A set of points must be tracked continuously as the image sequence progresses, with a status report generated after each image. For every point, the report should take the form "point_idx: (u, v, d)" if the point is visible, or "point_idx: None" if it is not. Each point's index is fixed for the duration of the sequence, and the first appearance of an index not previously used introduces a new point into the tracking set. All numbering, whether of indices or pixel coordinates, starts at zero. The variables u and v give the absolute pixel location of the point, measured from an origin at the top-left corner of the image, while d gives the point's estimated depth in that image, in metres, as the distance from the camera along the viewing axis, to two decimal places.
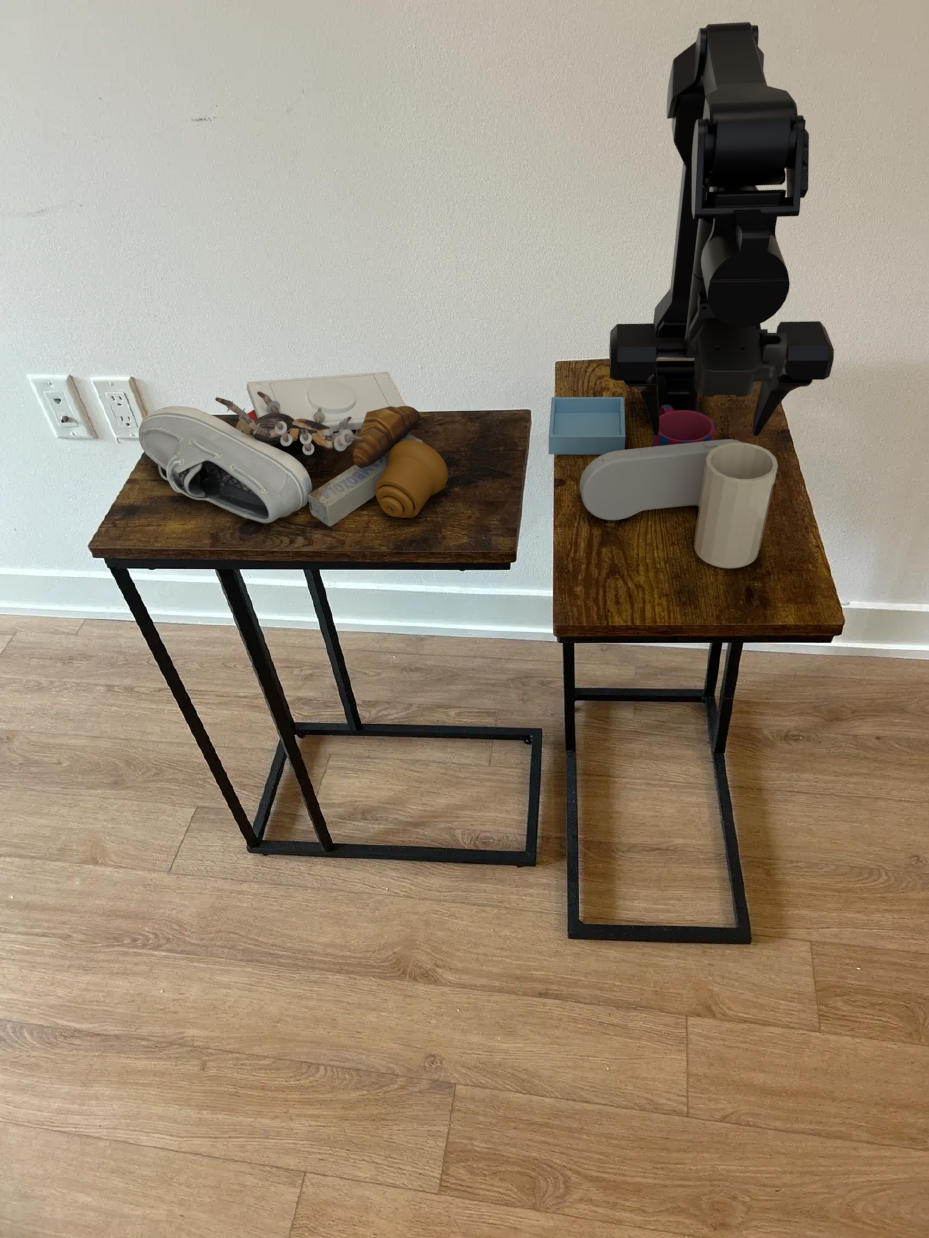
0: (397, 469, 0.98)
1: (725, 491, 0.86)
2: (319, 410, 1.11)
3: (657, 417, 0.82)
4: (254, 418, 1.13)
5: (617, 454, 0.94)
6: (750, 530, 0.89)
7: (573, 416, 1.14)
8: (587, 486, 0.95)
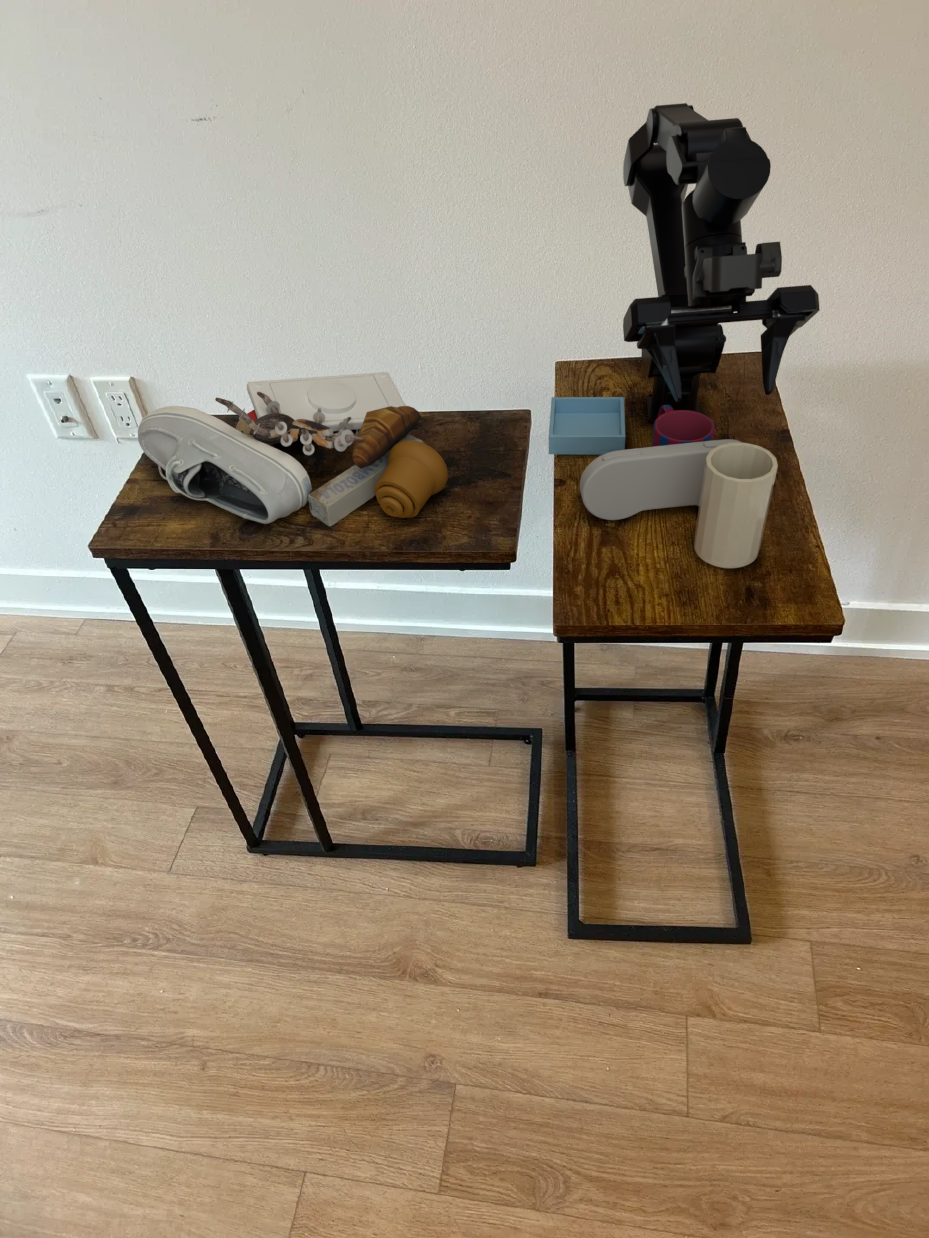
0: (397, 469, 0.98)
1: (725, 491, 0.86)
2: (319, 410, 1.10)
3: (678, 375, 0.90)
4: (254, 418, 1.13)
5: (617, 454, 0.94)
6: (750, 530, 0.89)
7: (573, 416, 1.14)
8: (587, 486, 0.95)
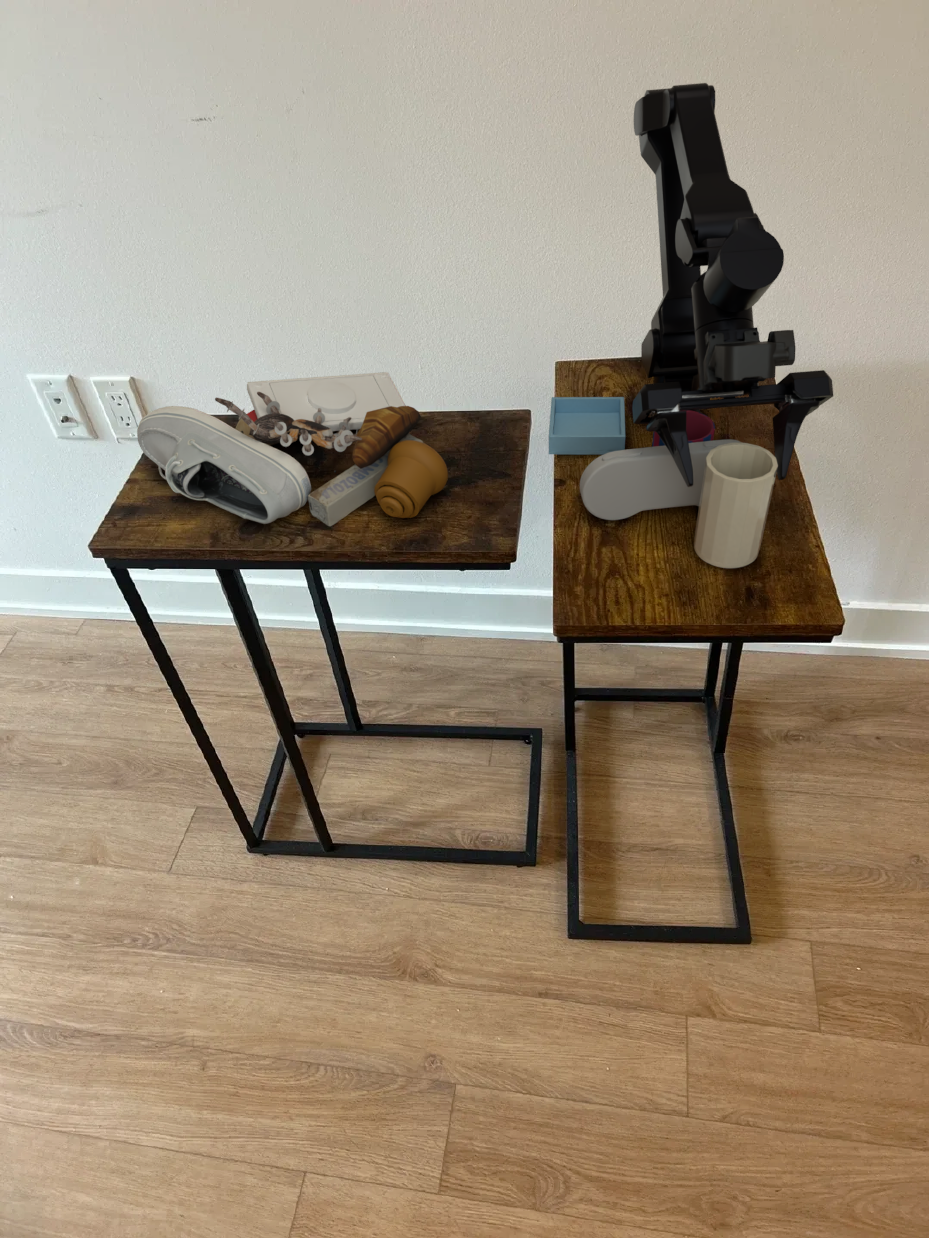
0: (397, 469, 0.98)
1: (725, 491, 0.86)
2: (319, 411, 1.10)
3: (689, 461, 0.88)
4: (254, 417, 1.13)
5: (617, 454, 0.94)
6: (750, 530, 0.89)
7: (573, 416, 1.14)
8: (587, 486, 0.95)
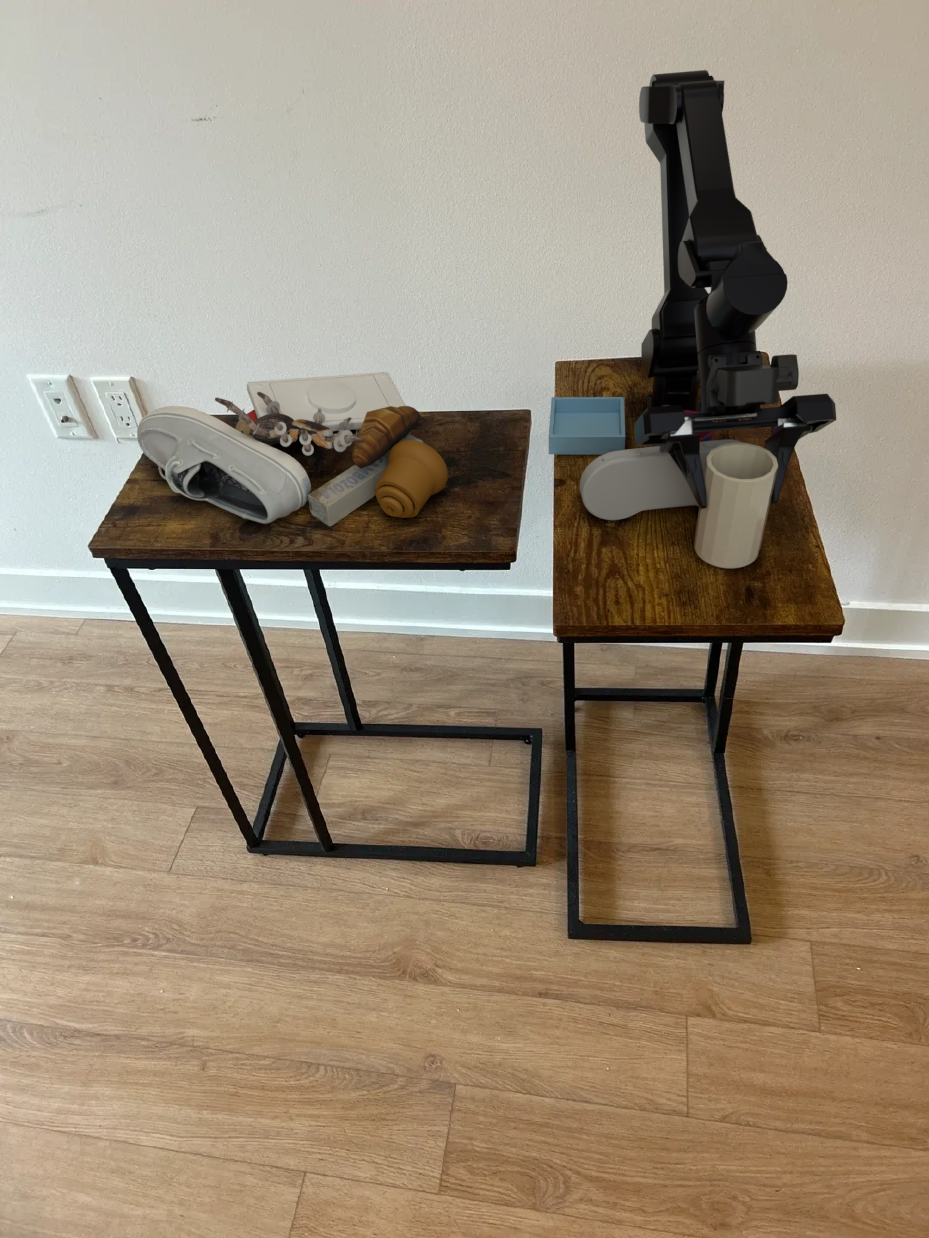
0: (397, 469, 0.98)
1: (725, 491, 0.86)
2: (319, 411, 1.10)
3: (703, 483, 0.88)
4: (254, 417, 1.13)
5: (617, 454, 0.94)
6: (750, 530, 0.88)
7: (573, 416, 1.14)
8: (587, 486, 0.95)
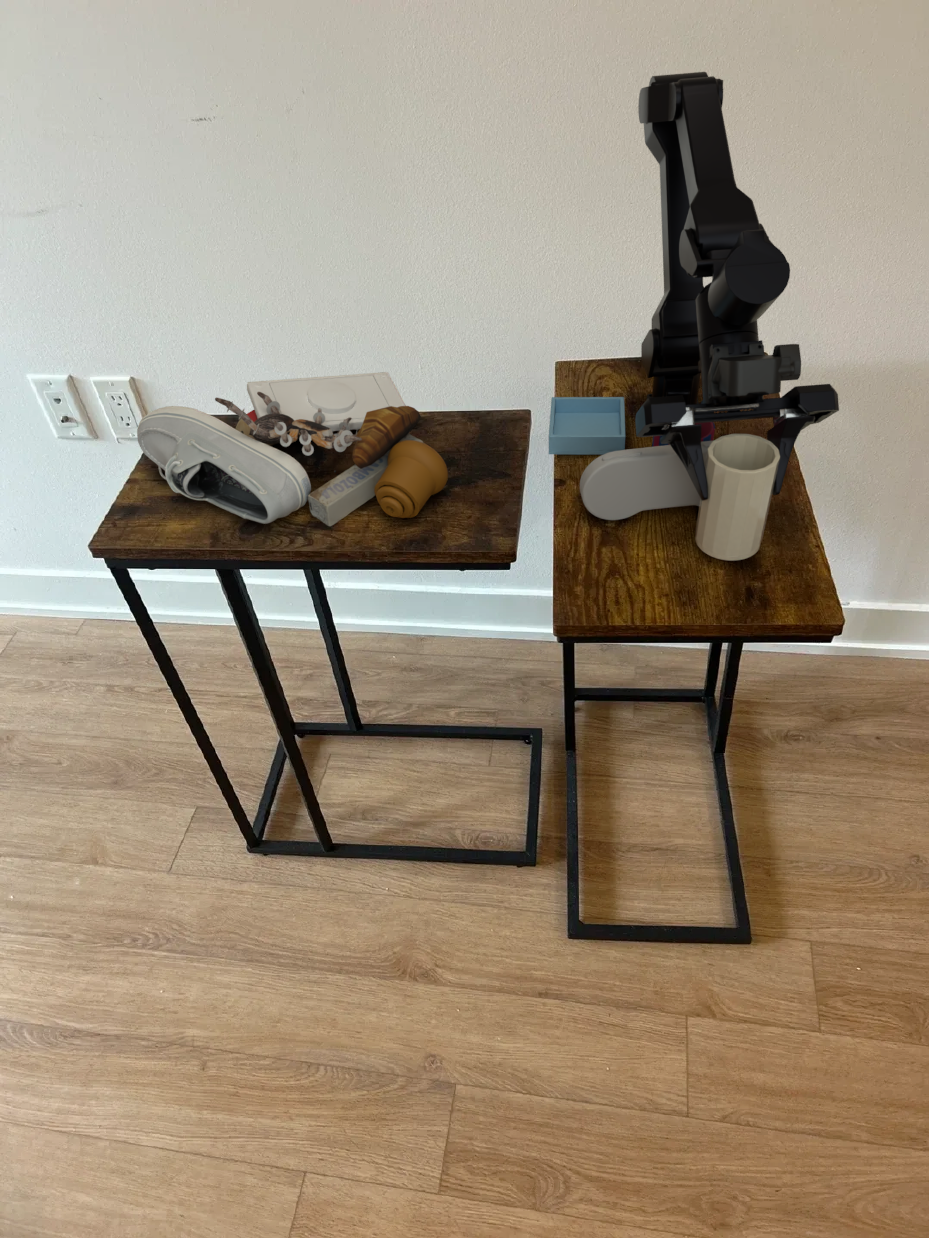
0: (397, 469, 0.98)
1: (727, 482, 0.85)
2: (319, 411, 1.10)
3: (704, 474, 0.87)
4: (254, 417, 1.13)
5: (617, 454, 0.94)
6: (752, 522, 0.88)
7: (573, 416, 1.14)
8: (587, 486, 0.95)
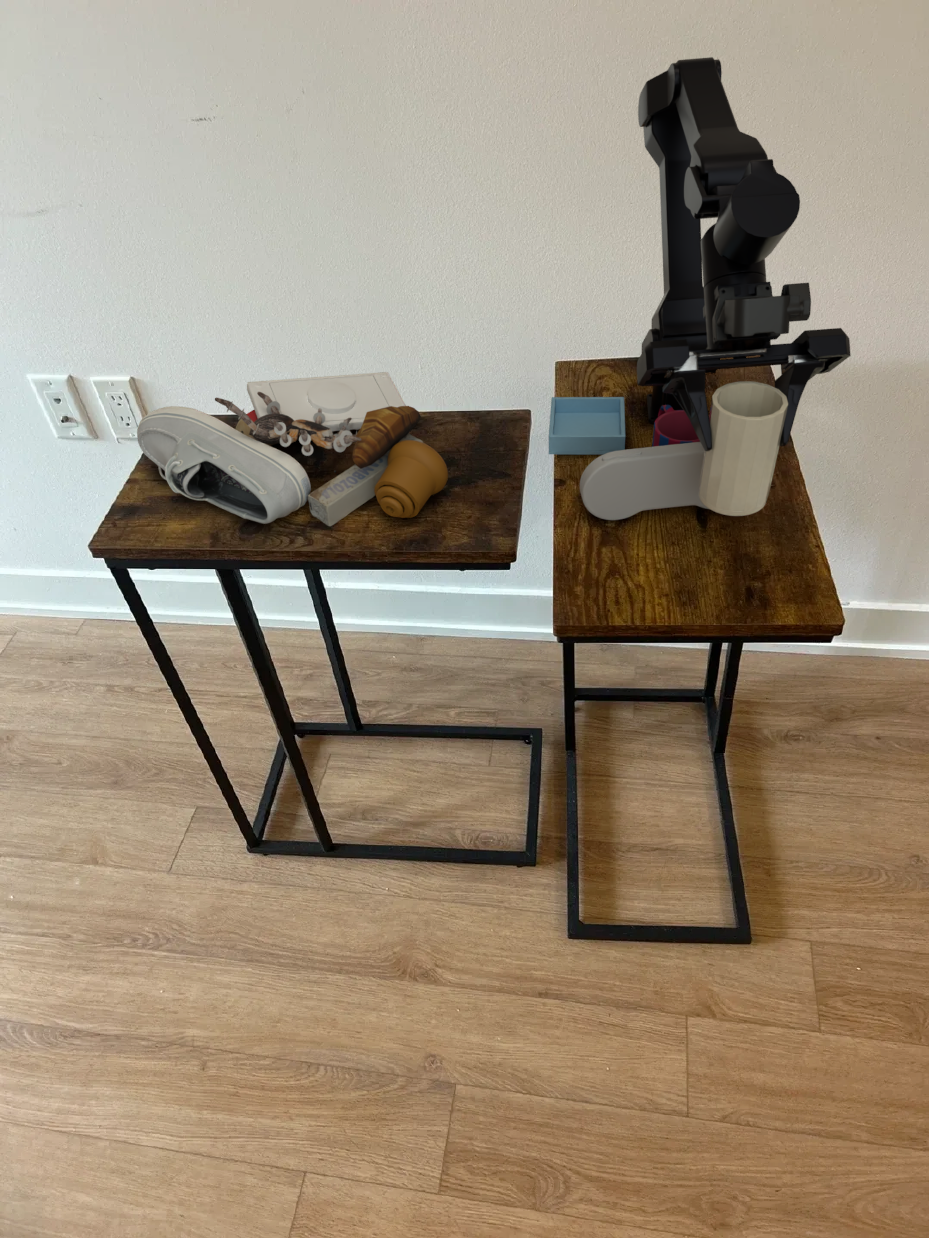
0: (397, 469, 0.98)
1: (732, 430, 0.81)
2: (319, 411, 1.10)
3: (708, 423, 0.83)
4: (254, 417, 1.13)
5: (617, 454, 0.94)
6: (758, 474, 0.84)
7: (573, 416, 1.14)
8: (587, 486, 0.95)
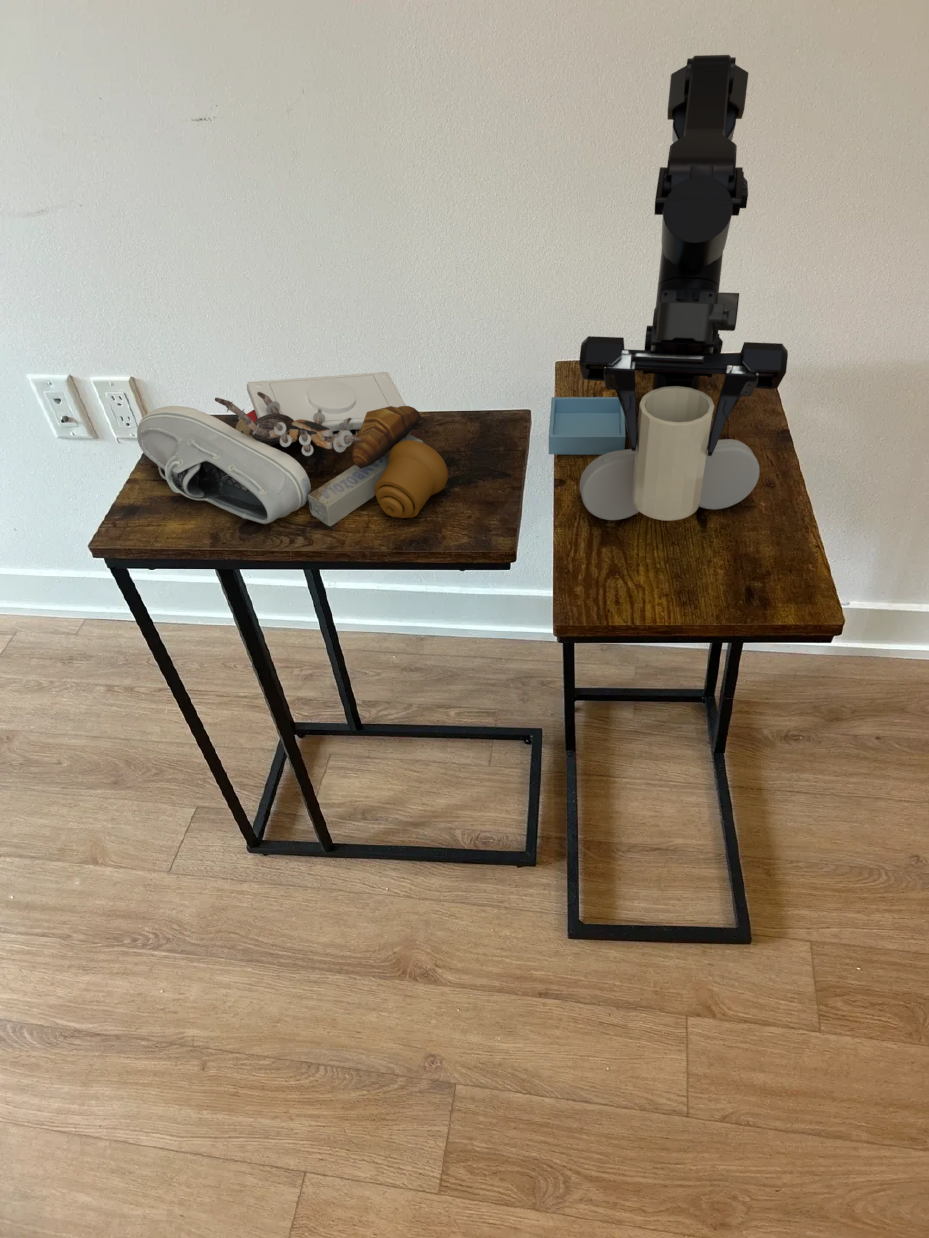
0: (397, 469, 0.98)
1: (651, 433, 0.81)
2: (319, 411, 1.10)
3: (635, 423, 0.84)
4: (254, 417, 1.13)
5: (617, 454, 0.94)
6: (679, 480, 0.84)
7: (573, 416, 1.14)
8: (587, 486, 0.95)
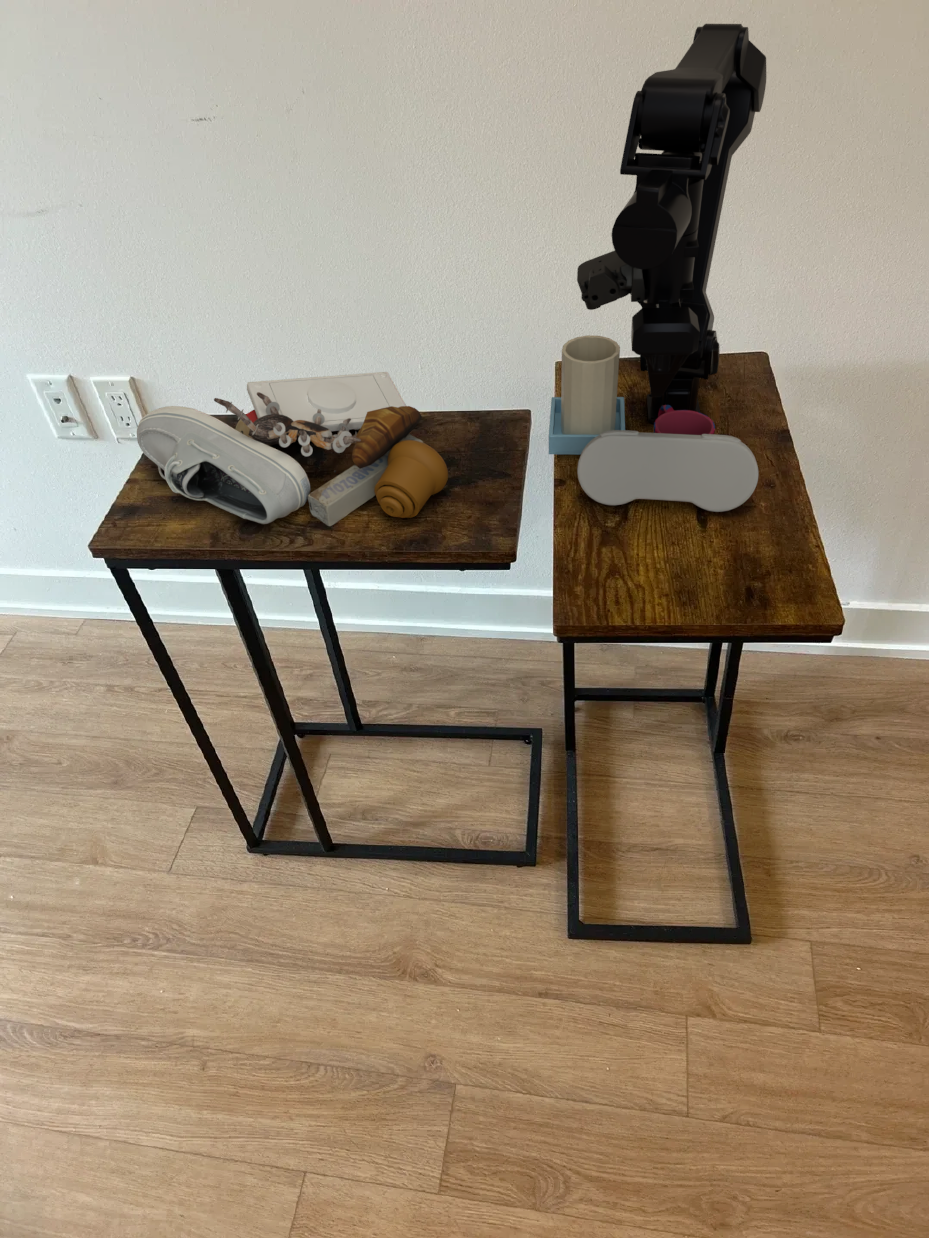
0: (397, 469, 0.98)
1: None
2: (319, 411, 1.10)
3: None
4: (254, 417, 1.13)
5: (614, 431, 0.97)
6: (568, 405, 1.07)
7: None
8: (582, 460, 0.98)
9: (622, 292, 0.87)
